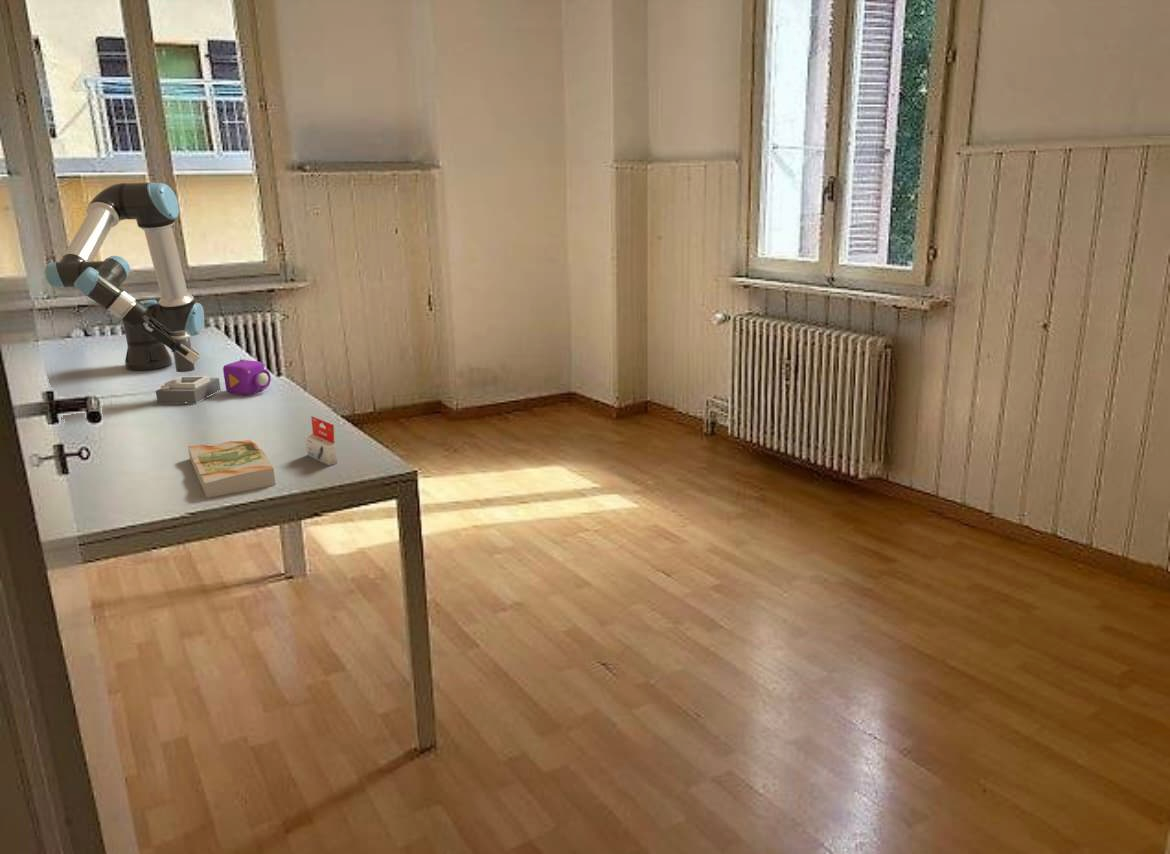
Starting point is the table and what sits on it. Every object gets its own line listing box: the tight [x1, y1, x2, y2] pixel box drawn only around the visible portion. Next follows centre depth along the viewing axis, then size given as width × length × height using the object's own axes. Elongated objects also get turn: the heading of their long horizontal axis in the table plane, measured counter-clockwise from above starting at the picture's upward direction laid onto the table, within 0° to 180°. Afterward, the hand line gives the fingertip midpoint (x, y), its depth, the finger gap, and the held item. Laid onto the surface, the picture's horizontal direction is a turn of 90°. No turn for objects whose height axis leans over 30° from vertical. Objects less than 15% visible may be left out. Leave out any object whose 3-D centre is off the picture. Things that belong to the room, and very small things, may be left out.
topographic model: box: [187, 439, 276, 498], centre depth 203 cm, size 30×14×5 cm, turn 30°
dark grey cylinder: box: [170, 330, 195, 373], centre depth 265 cm, size 5×5×12 cm
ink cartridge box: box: [304, 415, 338, 466], centre depth 210 cm, size 2×11×10 cm, turn 45°
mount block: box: [155, 375, 221, 404], centre depth 269 cm, size 16×12×6 cm
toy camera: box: [222, 357, 272, 396], centre depth 273 cm, size 11×14×10 cm
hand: (196, 358), depth 268 cm, fingers closed on dark grey cylinder, 5 cm apart
